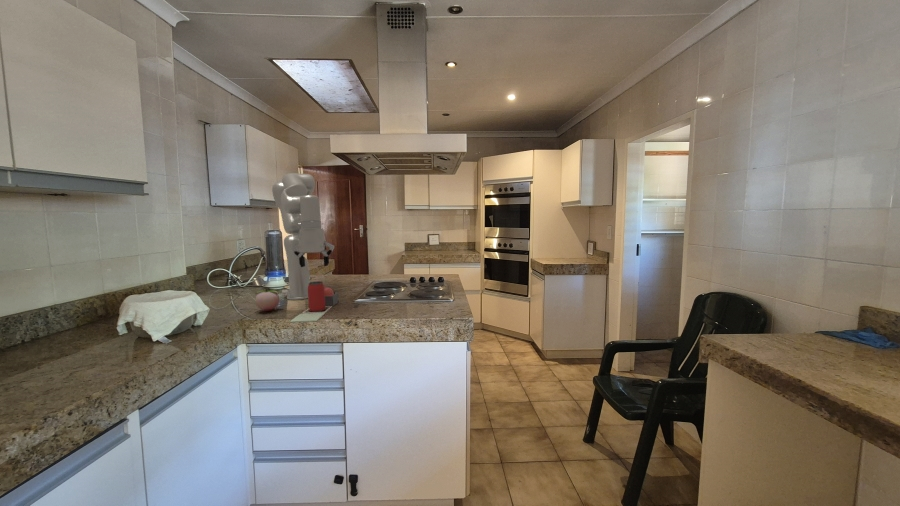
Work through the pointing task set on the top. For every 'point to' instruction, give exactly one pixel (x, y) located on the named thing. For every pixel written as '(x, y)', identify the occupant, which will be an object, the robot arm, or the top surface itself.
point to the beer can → (316, 296)
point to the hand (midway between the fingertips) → (314, 266)
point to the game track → (316, 316)
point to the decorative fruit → (267, 300)
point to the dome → (328, 291)
